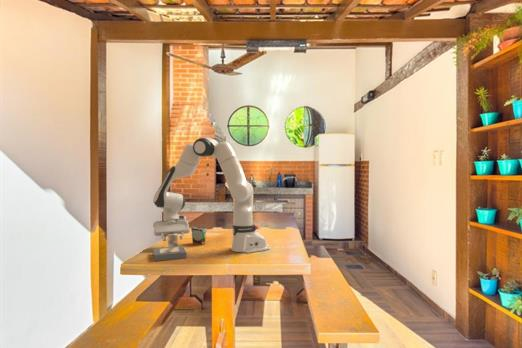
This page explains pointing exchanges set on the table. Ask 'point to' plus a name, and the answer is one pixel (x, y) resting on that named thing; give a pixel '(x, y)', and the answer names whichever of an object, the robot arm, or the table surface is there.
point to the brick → (172, 240)
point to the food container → (198, 235)
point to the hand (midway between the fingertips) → (172, 239)
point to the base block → (169, 253)
